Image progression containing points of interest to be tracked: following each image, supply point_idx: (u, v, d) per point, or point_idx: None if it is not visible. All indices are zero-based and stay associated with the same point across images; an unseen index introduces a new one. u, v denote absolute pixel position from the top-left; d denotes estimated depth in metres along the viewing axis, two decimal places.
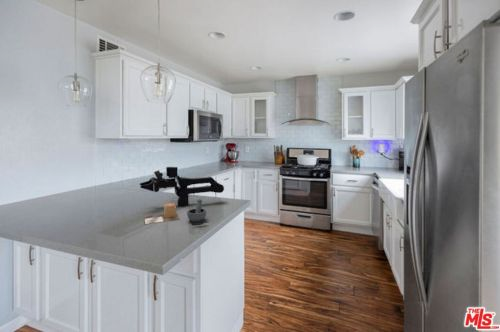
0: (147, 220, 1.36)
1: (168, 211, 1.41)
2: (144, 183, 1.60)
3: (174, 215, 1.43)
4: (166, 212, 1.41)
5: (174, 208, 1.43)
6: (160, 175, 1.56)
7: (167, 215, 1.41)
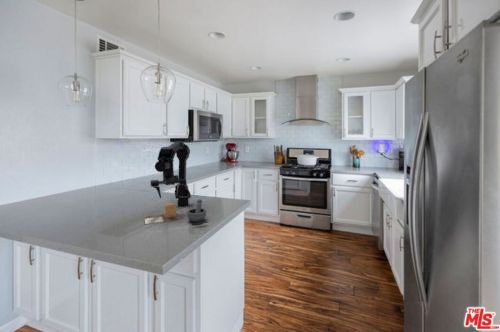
0: (147, 220, 1.36)
1: (168, 211, 1.41)
2: None
3: (174, 215, 1.43)
4: (166, 212, 1.41)
5: (174, 208, 1.43)
6: None
7: (167, 215, 1.41)
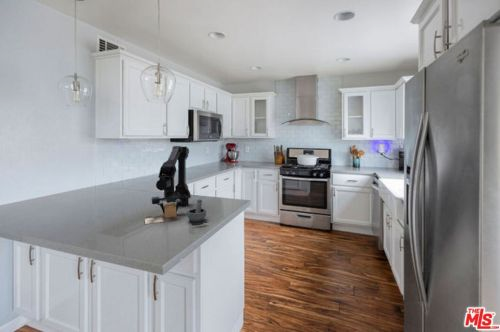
0: (147, 220, 1.36)
1: (168, 211, 1.41)
2: None
3: (174, 215, 1.43)
4: (166, 212, 1.41)
5: (174, 208, 1.43)
6: None
7: (167, 215, 1.41)
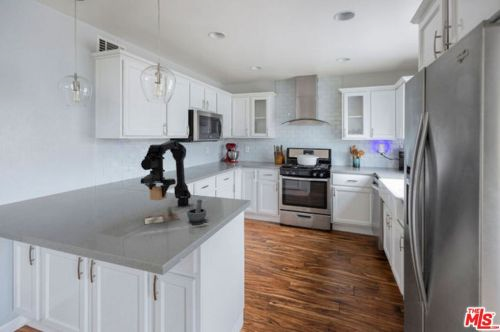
0: (147, 220, 1.36)
1: (152, 193, 1.35)
2: None
3: (157, 199, 1.34)
4: (151, 194, 1.35)
5: (157, 191, 1.34)
6: (156, 177, 1.30)
7: (151, 197, 1.35)
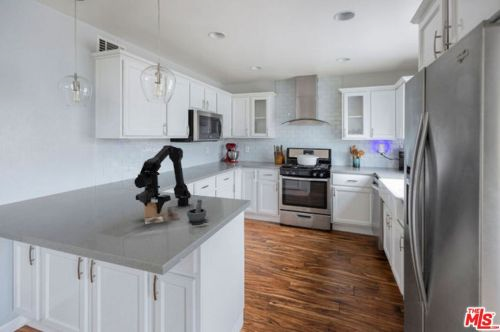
0: (147, 220, 1.36)
1: (147, 210, 1.34)
2: None
3: (152, 216, 1.33)
4: (146, 210, 1.34)
5: (152, 208, 1.32)
6: (151, 195, 1.28)
7: (146, 214, 1.34)
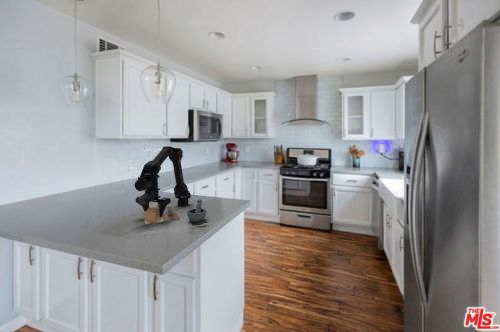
0: None
1: (147, 215, 1.34)
2: (146, 210, 1.38)
3: (152, 220, 1.33)
4: (146, 215, 1.34)
5: (152, 213, 1.33)
6: (151, 197, 1.28)
7: (146, 219, 1.34)
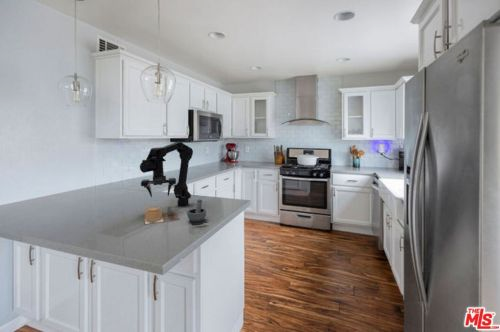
0: None
1: (147, 215, 1.34)
2: (151, 192, 1.47)
3: (152, 220, 1.33)
4: (146, 215, 1.34)
5: (152, 213, 1.33)
6: (165, 178, 1.42)
7: (146, 219, 1.34)
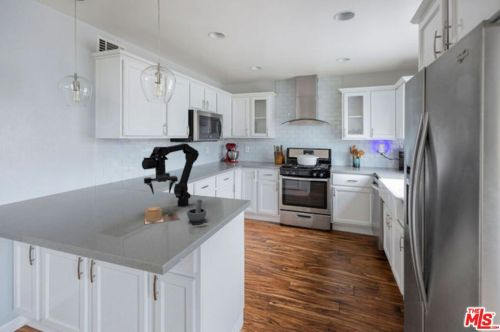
0: None
1: (147, 215, 1.34)
2: None
3: (152, 220, 1.33)
4: (146, 215, 1.34)
5: (152, 213, 1.33)
6: None
7: (146, 219, 1.34)
